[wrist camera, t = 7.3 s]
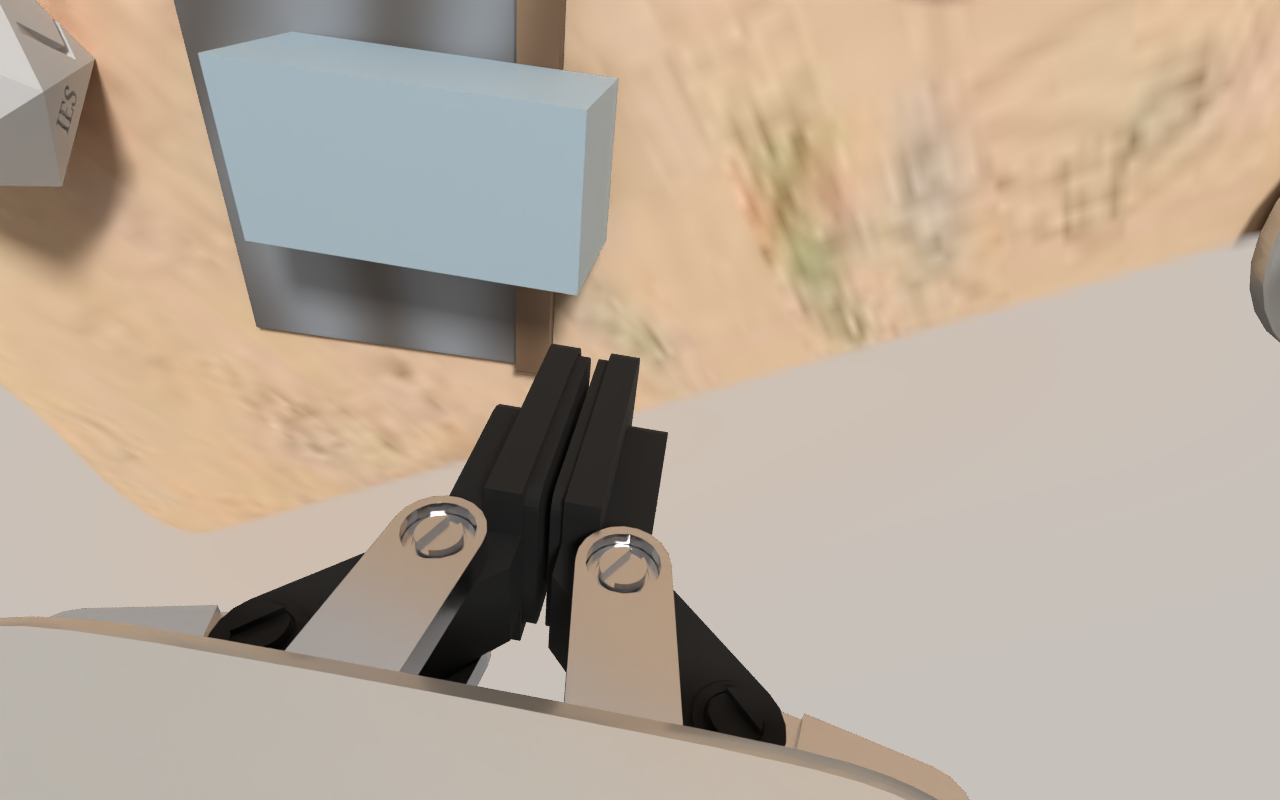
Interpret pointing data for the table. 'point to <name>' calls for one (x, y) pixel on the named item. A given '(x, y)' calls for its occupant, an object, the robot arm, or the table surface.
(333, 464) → the table surface
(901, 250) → the table surface
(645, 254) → the table surface
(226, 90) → the tall block
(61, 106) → the die
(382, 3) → the mat
